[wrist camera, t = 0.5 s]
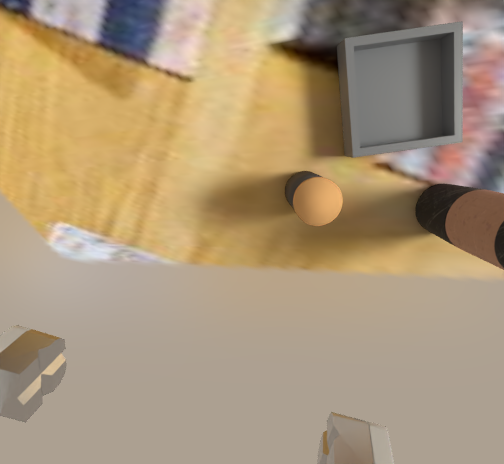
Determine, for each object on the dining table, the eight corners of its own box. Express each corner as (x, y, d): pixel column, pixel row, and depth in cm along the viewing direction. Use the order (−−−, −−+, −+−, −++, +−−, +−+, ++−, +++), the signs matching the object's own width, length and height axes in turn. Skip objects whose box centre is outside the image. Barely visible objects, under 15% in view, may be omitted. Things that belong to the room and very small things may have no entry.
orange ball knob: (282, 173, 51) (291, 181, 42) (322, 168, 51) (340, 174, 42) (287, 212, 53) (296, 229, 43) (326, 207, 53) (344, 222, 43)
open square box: (336, 46, 48) (344, 38, 44) (444, 31, 48) (462, 21, 44) (344, 156, 51) (353, 157, 47) (445, 142, 51) (462, 142, 47)
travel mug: (406, 227, 54) (498, 277, 34) (423, 176, 52) (530, 197, 33) (455, 239, 54) (573, 293, 35) (474, 188, 52) (609, 216, 33)
